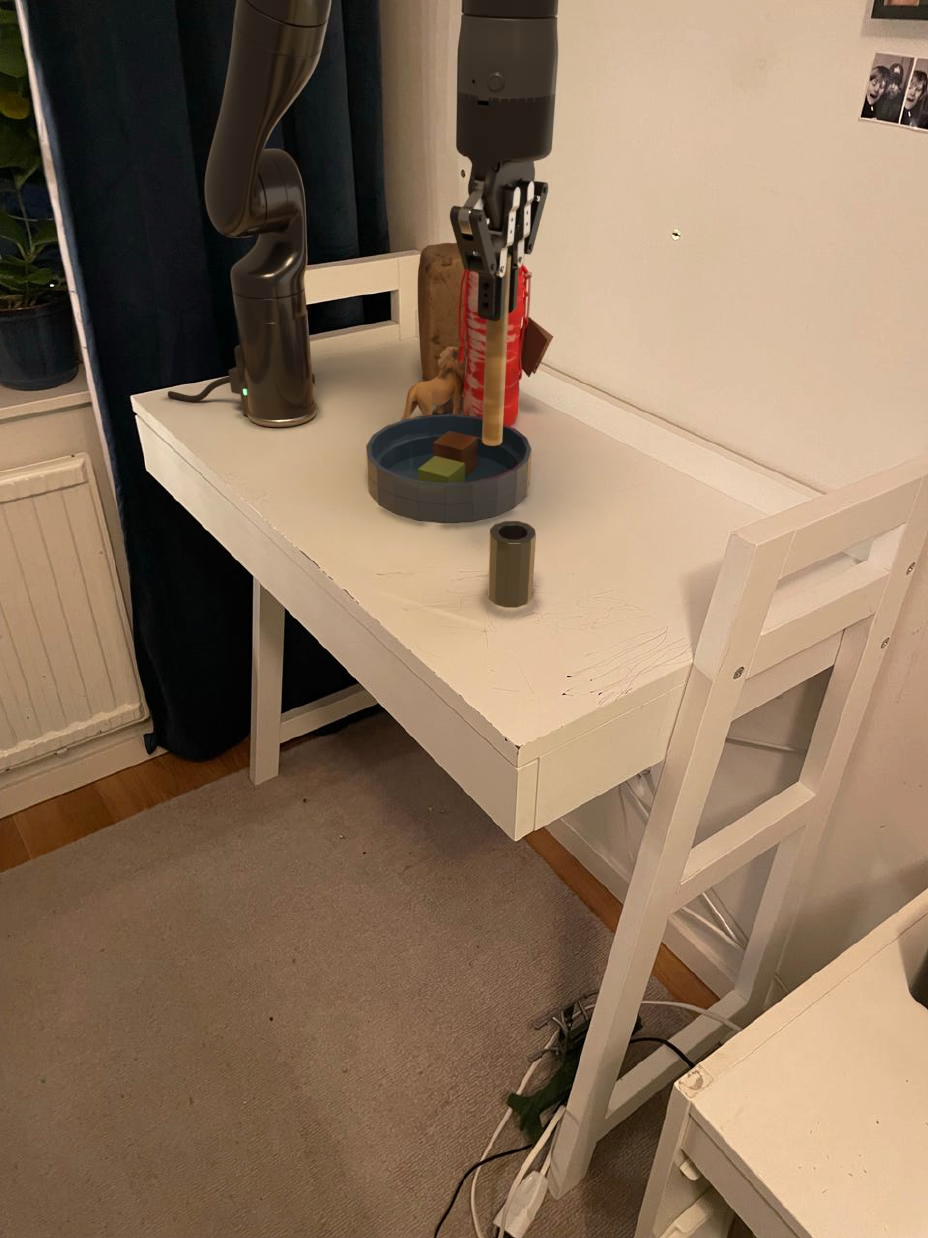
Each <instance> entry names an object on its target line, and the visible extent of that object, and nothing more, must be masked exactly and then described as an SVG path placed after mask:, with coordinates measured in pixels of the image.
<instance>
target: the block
mask: <svg viewBox="0 0 928 1238" xmlns="http://www.w3.org/2000/svg"><path fill="white" fill-rule="evenodd" d="M464 270H465V269H464V267H463V263H462V260H461V256H460V253H459V249H458V246H457V242H441V243H436V244H427V245H426V246H425V247H424V248H422V249H421V252H420V255H419V263H418V270H417V319H418V321H417V323H418V337H419V338H418V339H419V354H420V364H421V365H420V366H421V371H422V382H425V381H430V380H433V379H434V378H436V377H437V376H438V371H439V365H438V360H439V359H440V354H441V353H442V352H443V351H445V350H446V348H447V347H458V348H459V347H460V345H461V340H460V337H459V324H458V309H459V297H460V285H461V279H462V276H463V272H464ZM466 273H467V272H466ZM465 281H466V274H465V278H464V281H463V289H462V301H461V336H462V330H463V313H464V294H465ZM464 343H465V345H466V325H465V335H464ZM463 353H464V355H465V356H466V346H465V347H464V350H463ZM461 398H463V392H462V393H461Z"/></svg>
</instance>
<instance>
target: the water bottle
mask: <svg viewBox="0 0 928 1238" xmlns="http://www.w3.org/2000/svg"><path fill="white" fill-rule="evenodd" d="M518 269H519V275H518V293H517V308H516V310H514V311H513V312H511V313H508V332H507V353H506V373H505V393H504V413H503V424H506V425H508V426H510V427H512V426H513V425H514V423H515V421H516V418H517V416H518V413H519V403H520V402H519V401H520V381H521V380H522V379H523V372H524V374H525V375H526V376H527V377H528V378H530V377H531V375H532V374H534V375H535V374H536V373H537V371H538V368H539V367H540V365H541V363H542V361H543V358H544V356H545V354H546V352H547V350H548V348H549V347H550V345H551V342H552V341H553V338H554V335H553V334H551V333H550V332H549V331H548V330H546V329H545V328H544V327H542V326H541V325H540V324H539V323H538V322H536V321H535V320H534V319H532V317H530V308H531V289H532V288H531V287H532V280H531V279H532V277H533V276H532V275H533V272H531V271H529V270H528V268H527V267H526V265H524V263H523V264H522V266H521V267H518ZM466 272H467V273H466ZM465 274H466V281H465V294H464V313H463V330H462V336H461V301H462V289H463V281H464V278H465ZM478 279H479V276H478V273H475V272H474V271H467V270H464V272H463V276H462V279H461V285H460V297H459V309H458V324H459V337H460V340H461V345H460V347H459V351H458V361H461V363H464V357H463V350H464V347H465V346H466V367H465V379H464V391H463V397H462V399H463V413H464V414H463V415H469V416H478V417H482V418H483V398H484V370H485V342H486V319H482V318H480V317H479V316H478ZM465 325H466V345H465V343H464V335H465Z"/></svg>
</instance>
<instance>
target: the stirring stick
mask: <svg viewBox="0 0 928 1238" xmlns="http://www.w3.org/2000/svg"><path fill="white" fill-rule="evenodd" d="M494 255H495V257H496V252H494ZM510 272H511V254H509V253H507V262H506V271H505V274H504V276H506V283H505V304H504V316H503V318H502V319H500V320H498V321H491V320H486V342H485V370H484V398H483V426H482V442H483V443H484V444H486V445H490V446H496V445H499V444H501V443H502V434H503V413H504V393H505V373H506V353H507V332H508V312H509V292H510Z"/></svg>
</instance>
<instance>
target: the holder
mask: <svg viewBox="0 0 928 1238" xmlns="http://www.w3.org/2000/svg"><path fill="white" fill-rule="evenodd" d="M536 539H537V534H536V529H535V528H534V527H533V526H532V525H530V524H529V523H527V522H523V521H519V520H505V521H500V522H497V523H495V524H494V525H493V526H491V528H490V529H489V547H488V548H489V550H488V551H489V553H488V581H487V585H488V586H487V595H488V600H490V601H491V602H492V603H493V604H494V605H495V606H499V607H502V608H511V609H512V608H520V607H523V606H526V605H528V604H529V603H530V602H531V600H532V599H533V589H534V573H535V558H536V557H535V555H536V554H535V553H536V542H537V540H536Z"/></svg>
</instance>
